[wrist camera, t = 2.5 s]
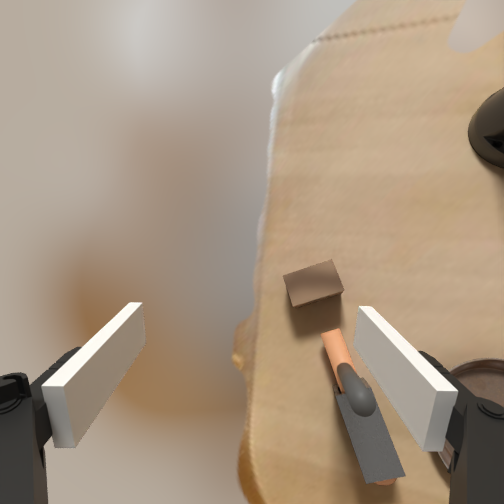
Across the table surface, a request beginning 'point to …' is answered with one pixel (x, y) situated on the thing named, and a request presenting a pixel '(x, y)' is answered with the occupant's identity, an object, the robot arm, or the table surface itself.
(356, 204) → the table surface
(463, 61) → the table surface
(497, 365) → the plant saucer
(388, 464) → the sleeve
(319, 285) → the socket
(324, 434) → the table surface
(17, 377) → the robot arm
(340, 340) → the sliding bolt
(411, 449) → the table surface
